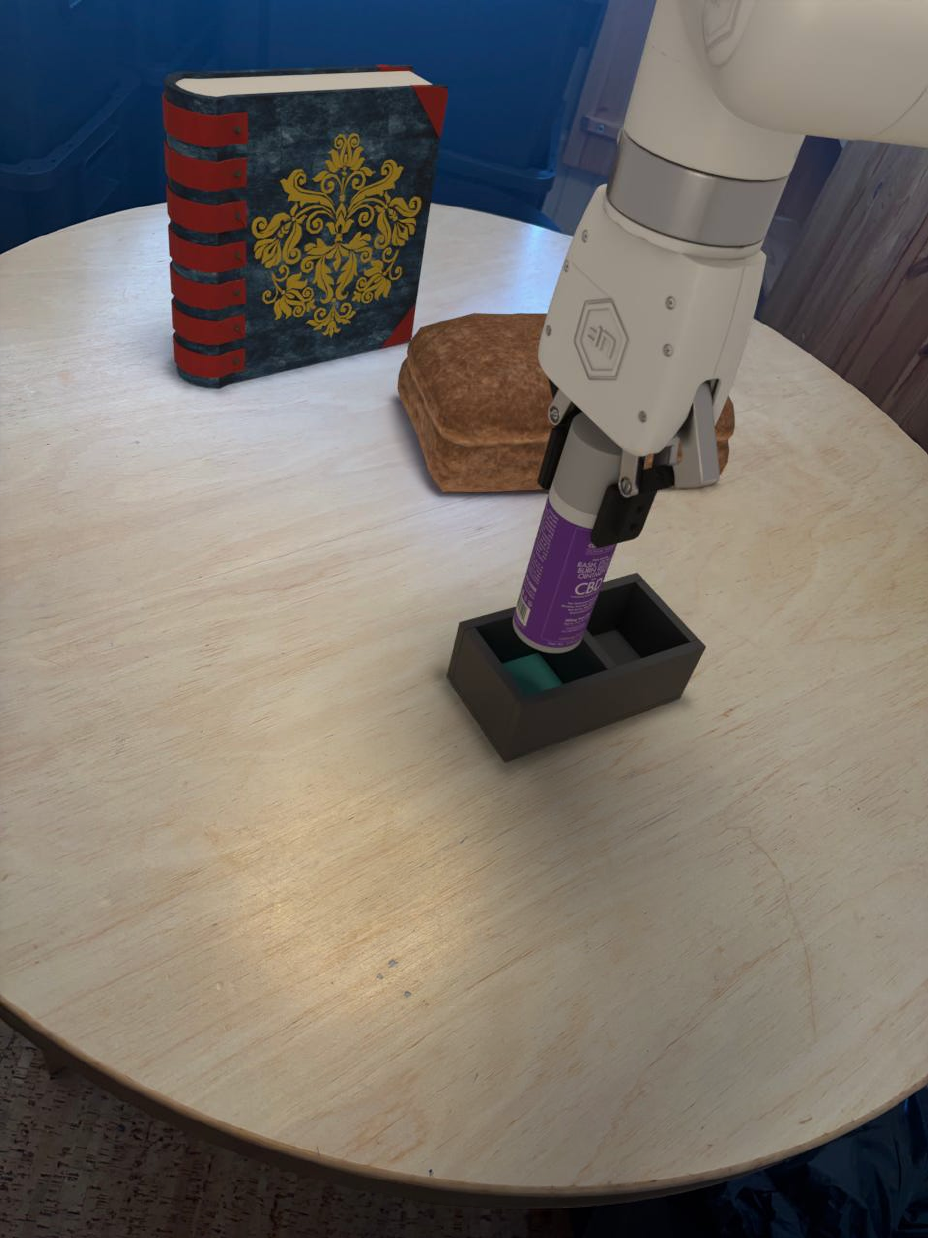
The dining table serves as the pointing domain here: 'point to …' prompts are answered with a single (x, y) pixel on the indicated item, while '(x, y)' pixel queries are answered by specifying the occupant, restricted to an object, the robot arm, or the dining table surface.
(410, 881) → the dining table surface
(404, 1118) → the dining table surface
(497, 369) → the bread
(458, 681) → the dark grey divided box
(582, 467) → the container
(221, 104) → the book
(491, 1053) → the dining table surface
